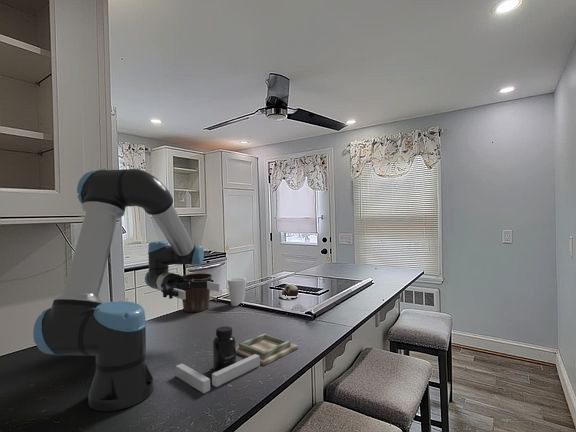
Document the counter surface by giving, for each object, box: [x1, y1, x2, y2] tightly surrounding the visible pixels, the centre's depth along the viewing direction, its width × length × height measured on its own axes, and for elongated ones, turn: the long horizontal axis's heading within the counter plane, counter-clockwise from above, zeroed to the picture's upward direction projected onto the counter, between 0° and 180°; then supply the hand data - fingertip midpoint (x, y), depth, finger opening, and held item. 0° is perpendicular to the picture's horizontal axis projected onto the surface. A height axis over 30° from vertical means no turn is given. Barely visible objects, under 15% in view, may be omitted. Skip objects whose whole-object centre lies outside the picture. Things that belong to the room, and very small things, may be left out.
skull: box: [280, 283, 299, 296], centre depth 180 cm, size 12×10×10 cm
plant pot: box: [181, 273, 213, 313], centre depth 160 cm, size 16×16×16 cm
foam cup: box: [227, 276, 247, 307], centre depth 167 cm, size 10×9×13 cm
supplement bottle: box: [212, 325, 237, 373], centre depth 98 cm, size 7×7×12 cm
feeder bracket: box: [175, 354, 261, 394], centre depth 97 cm, size 20×14×3 cm
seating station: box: [236, 333, 299, 366], centre depth 111 cm, size 16×16×2 cm
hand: (202, 291), depth 112 cm, fingers open, 13 cm apart
